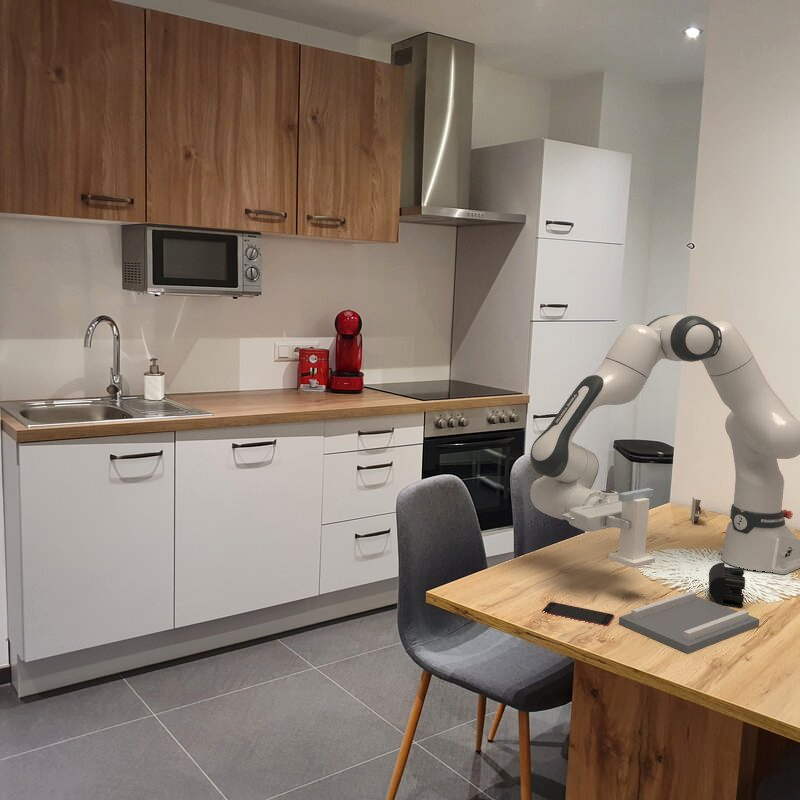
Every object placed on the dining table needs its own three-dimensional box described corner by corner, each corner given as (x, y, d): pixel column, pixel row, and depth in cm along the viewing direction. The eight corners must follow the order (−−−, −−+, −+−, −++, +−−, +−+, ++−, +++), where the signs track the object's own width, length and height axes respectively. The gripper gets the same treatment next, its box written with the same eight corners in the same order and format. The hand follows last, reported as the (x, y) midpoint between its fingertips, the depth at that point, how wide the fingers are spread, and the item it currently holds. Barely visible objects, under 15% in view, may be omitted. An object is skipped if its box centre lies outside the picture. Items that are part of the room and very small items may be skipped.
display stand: (603, 559, 182) (608, 490, 179) (632, 552, 188) (638, 485, 185) (629, 569, 176) (635, 497, 174) (659, 561, 182) (664, 492, 180)
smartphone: (550, 600, 178) (615, 614, 172) (549, 603, 178) (615, 617, 172) (540, 611, 172) (608, 626, 166) (540, 614, 172) (607, 628, 166)
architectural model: (702, 522, 246) (704, 497, 245) (705, 528, 240) (708, 503, 239) (690, 520, 247) (692, 496, 246) (693, 527, 241) (695, 502, 240)
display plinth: (690, 600, 182) (691, 587, 181) (758, 626, 169) (760, 612, 169) (618, 624, 168) (619, 609, 167) (687, 653, 155) (688, 638, 154)
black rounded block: (707, 589, 189) (709, 560, 189) (740, 594, 187) (743, 565, 186) (707, 604, 180) (710, 574, 179) (742, 609, 178) (745, 579, 177)
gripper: (557, 500, 184) (606, 516, 173) (617, 489, 196) (667, 503, 185) (555, 528, 185) (604, 545, 174) (616, 515, 197) (665, 530, 186)
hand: (637, 523), depth 180 cm, fingers closed on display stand, 4 cm apart
